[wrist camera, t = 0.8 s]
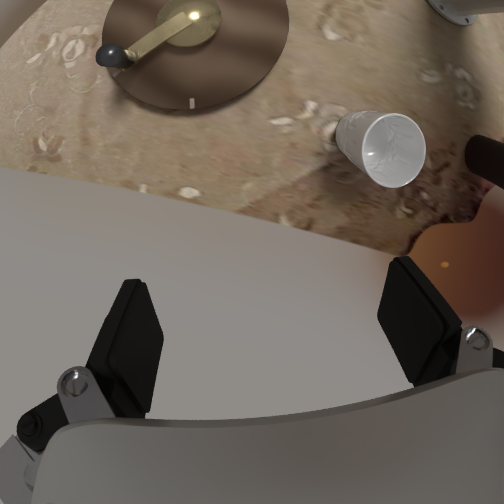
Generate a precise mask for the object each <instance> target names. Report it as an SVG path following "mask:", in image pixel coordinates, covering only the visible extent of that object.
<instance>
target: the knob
mask: <svg viewBox="0 0 504 504" xmlns="http://www.w3.org/2000/svg"><path fill="white" fill-rule="evenodd" d="M221 22H222V16H221V11H220V8H219V6H218V4H217V3H216V1H215V0H169V1H168V2H167V3H166V4H165V5H164V6H163V7H162V8H161V10H160V11H159V13H158V16H157V21H156V26H157V28H156V29H154V30H153V31H151V32H150V33H148V34H147V35H145V36H144V37H143V38H141V39H140V40H139V41H137V42H136V43H134V44H133V45H132V46H131V47H129V48H128V49H126V48H124V47H121V46H118V45H115V44H112V43H107V44H104V45H102V46H101V47H100V48H99V49H98V51H97V53H96V62H97V63H98V64H99V65H100V66H104V67H111V68H117V69H122V71H124V72H126V71H128V70H129V69H130V68H132V67H133V66H134V65H135V64H137V63H138V62H139V61H141V60H142V59H143V58H145V57H146V56H148V55H149V54H150V53H152V52H153V51H155V50H156V49H157V48H159V47H160V46H162V45H163V44H165V43H166V42H168V43H169V44H171V45H173V46H175V47H179V48H194V47H198V46H201V45H203V44H205V43H207V42H208V41H210V40H211V39H212V38H213V37H214V36H215V35H216V34H217V32H218V31H219V29H220V26H221Z"/></svg>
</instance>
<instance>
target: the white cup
mask: <svg viewBox="0 0 504 504" xmlns="http://www.w3.org/2000/svg"><path fill="white" fill-rule="evenodd" d="M335 139H336V142H337V145H338V147H339V150H340V151H341V152H342V153H343V154H344V155H345V156H346V157H347V158H348V159H349V160H350V161H351V162H353V163H354V164H355V165H356V166H357V167H358V168H359V169H360V170H362V171H363V172H364V173H365V174H367V175H368V176H369V177H370V178H371V179H373V180H374V181H375V182H376V183H378V184H380V185H382V186H384V187H388V188H397V187H401V186H404V185H406V184H408V183H410V182H411V181H412V180H413V179H414V178H415V177H416V176H417V175H418V174H419V172H420V170H421V169H422V166H423V164H424V160H425V155H426V144H425V139H424V136H423V133H422V131H421V129H420V128H419V126H418V125H417V124H416V123H415V122H414V121H413V120H412V119H410V118H409V117H407V116H405V115H402V114H397V113H388V112H379V111H357V112H350V113H349V114H347V115H346V116H344V117H343V118H341V120H340V122H339V124H338V126H337V127H336V138H335Z"/></svg>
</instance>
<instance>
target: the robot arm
mask: <svg viewBox="0 0 504 504" xmlns="http://www.w3.org/2000/svg"><path fill="white" fill-rule="evenodd" d="M427 1H428V2H429V3H430V4H431V6H432V7H433V8H434V9H435V10H436V11H437V12H438V13H439V14H440V15H442V16H443V17H444V18H445V19H447V20H448V21H450V22H452V23H454V24H457V25H470V24H472V23H474V22H475V21H476V19H477V17H478V14H488V13H501V12H504V0H427ZM377 317H378V321H379V323H380V325H381V327H382V329H383V331H384V333H385V335H386V336H387V338H388V340H389V342H390V344H391V346H392V348H393V350H394V352H395V354H396V356H397V359H398V361H399V362H400V365H401V367H402V369H403V371H404V373H405V375H406V377H407V379H408V381H409V382H410V383H413V386H414V388H411V389H408V390H404V391H401V392H398V393H394V394H390V395H387V396H383V397H379V398H375V399H371V400H366V401H362V402H358V403H353V404H348V405H344V406H339V407H334V408H328V409H322V410H316V411H310V412H303V413H296V414H288V415H279V416H270V417H259V418H245V419H228V420H162V419H145V414H146V413H148V412H149V411H150V408H151V402H152V397H153V391H154V386H155V380H156V375H157V370H158V365H159V360H160V356H161V351H162V346H163V341H164V338H163V337H164V336H163V332H162V329H161V326H160V324H159V321H158V318H157V315H156V312H155V309H154V306H153V303H152V301H151V298H150V294H149V292H148V289H147V285H146V283H144V282H141V280H140V279H127V280H125V281H124V282H123V284H122V286H121V288H120V291H119V292H118V295H117V297H116V299H115V301H114V303H113V305H112V307H111V310H110V312H109V314H108V315H107V317H106V318H105V320H104V323H103V325H102V327H101V329H100V332H99V335H98V337H97V339H96V342H95V344H94V346H93V348H92V351H91V353H90V356H89V359H88V361H87V364H86V366H85V367H82V366H76V367H72V368H70V369H68V370H66V371H65V372H64V373H63V374H62V375H61V376H60V378H59V380H58V383H57V392H58V393H57V394H55V395H54V396H52V397H51V398H49V399H47V400H46V401H45V402H43V403H41V404H39V405H38V406H36V407H34V408H33V409H31V410H30V411H28V412H26V413H25V414H24V415H23V416H22V417H21V418H20V420H19V421H18V424H17V436H16V437H15V436H14V435H12V436H11V437H10V438H9V439H8V440H7V441H6V443H5V444H4V445H3V446H2V447H1V448H0V498H1V500H2V501H3V503H4V504H504V352H503V351H501V350H498V349H496V348H493V341H492V338H491V336H490V335H489V333H488V332H487V331H486V330H484V329H483V328H481V327H479V326H475V325H469V326H467V327H465V328H464V329H462V328H461V327H460V326H461V324H462V321H461V320H460V319H459V317H458V316H457V314H456V313H455V312H454V311H453V309H452V308H451V307H450V305H449V304H448V303H447V302H446V300H445V299H444V298H443V296H442V295H441V294H440V293H439V291H438V290H437V289H436V288H435V287H434V285H433V284H432V283H431V282H430V280H429V279H428V278H427V277H426V276H425V274H424V273H423V272H422V271H421V270H420V269H419V267H418V266H417V265H416V264H415V263H414V262H413V260H412V259H411V258H410V257H409V256H401V257H395V258H394V259H393V261H391V262H390V264H389V268H388V273H387V277H386V281H385V285H384V290H383V293H382V298H381V301H380V305H379V309H378V313H377Z"/></svg>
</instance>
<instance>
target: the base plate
mask: <svg viewBox="0 0 504 504" xmlns="http://www.w3.org/2000/svg"><path fill="white" fill-rule="evenodd" d="M168 1H169V0H114V1H113V3H112V5H111V7H110V9H109V11H108V14H107V16H106V19H105V22H104V27H103V32H102V45H104V44H107V43H112V44H115V45H118V46H121V47H124V48H126V49H128V48H129V47H131V46H132V45H133V44H134V43H136V42H137V41H139V40H140V39H141V38H143V37H144V36H145V35H147V34H148V33H150V32H151V31H153V30H154V29H156V28H157V26H156V21H157V16H158V13H159V11H160V10H161V8H162V7H163V6H164V5H165V4H166V3H167V2H168ZM215 1H216V3H217V4H218V6H219V8H220V11H221V16H222V22H221V26H220V29H219V31H218V32H217V34H216V35H215V36H214V37H213V38H212V39H211V40H210V41H208V42H207V43H205V44H203V45H201V46H198V47H194V48H179V47H175V46H173V45H171V44H169V43H168V42H166V43H165V44H163V45H162V46H160V47H159V48H157V49H156V50H155V51H153V52H152V53H150V54H149V55H148V56H146V57H145V58H143V59H142V60H141V61H139V62H138V63H137V64H135V65H134V66H133V67H132V68H130V69H129V70H128V71H126V72H124V71H122V69H117V68H111V67H108V69H109V71H110V73H111V74H112V76H113V78H114V79H115V80H116V81H117V83H118V84H119V85H120V86H121V87H122V88H123V89H124V90H126V91H127V92H128V93H129V94H131V95H132V96H134V97H135V98H137V99H139V100H141V101H143V102H145V103H148V104H151V105H154V106H158V107H163V108H167V109H179V110H183V109H198V108H205V107H209V106H213V105H217V104H220V103H223V102H225V101H228V100H231V99H233V98H235V97H237V96H239V95H241V94H242V93H244V92H245V91H247V90H248V89H250V88H252V87H253V86H254V85H255V84H256V83H258V82H259V81H260V80H261V79H262V78H263V77H264V76H265V75H266V74H267V73H268V72H269V71H270V70H271V68H272V67H273V66H274V64H275V63H276V62H277V60H278V58H279V56H280V55H281V53H282V51H283V48H284V46H285V43H286V40H287V35H288V31H289V15H288V8H287V5H286V1H285V0H215Z"/></svg>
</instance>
